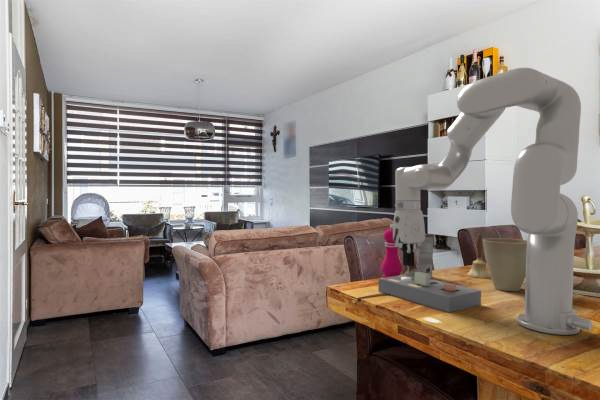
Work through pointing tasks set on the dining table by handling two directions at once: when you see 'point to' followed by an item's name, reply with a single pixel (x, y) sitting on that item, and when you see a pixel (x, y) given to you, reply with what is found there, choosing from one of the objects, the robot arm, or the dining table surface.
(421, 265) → the coffee box
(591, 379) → the dining table surface
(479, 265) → the hand bell
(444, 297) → the switch panel
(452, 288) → the terracotta button
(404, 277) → the off white button
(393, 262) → the pepper mill
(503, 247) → the plant pot
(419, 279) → the pale green block
